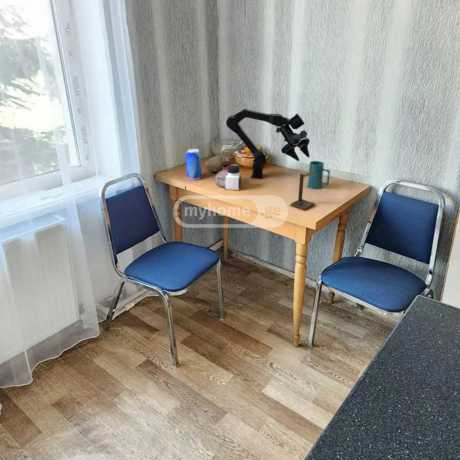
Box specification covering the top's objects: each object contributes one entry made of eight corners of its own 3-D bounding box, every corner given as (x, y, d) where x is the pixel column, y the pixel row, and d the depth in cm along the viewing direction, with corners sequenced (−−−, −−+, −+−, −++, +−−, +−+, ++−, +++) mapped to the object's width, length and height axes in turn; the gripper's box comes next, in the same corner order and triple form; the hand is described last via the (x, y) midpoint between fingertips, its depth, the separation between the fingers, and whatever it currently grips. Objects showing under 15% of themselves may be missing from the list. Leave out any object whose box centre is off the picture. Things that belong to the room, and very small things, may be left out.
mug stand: (290, 205, 187) (292, 176, 181) (309, 196, 197) (312, 168, 191) (304, 210, 182) (306, 181, 176) (323, 200, 192) (326, 172, 186)
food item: (228, 189, 206) (228, 171, 202) (214, 187, 209) (214, 169, 205) (238, 181, 217) (238, 164, 213) (225, 179, 220) (225, 162, 216)
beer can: (204, 176, 225) (203, 149, 218) (198, 181, 218) (197, 153, 211) (190, 174, 228) (189, 147, 221) (184, 179, 220) (182, 151, 214)
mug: (305, 186, 210) (307, 163, 204) (312, 183, 214) (314, 160, 209) (323, 192, 202) (326, 168, 197) (331, 188, 207) (334, 164, 201)
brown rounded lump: (215, 164, 248) (196, 166, 232) (218, 152, 246) (199, 154, 229) (232, 172, 243) (213, 174, 226) (235, 160, 240) (217, 161, 223)
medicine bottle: (238, 190, 205) (238, 168, 200) (225, 189, 206) (225, 167, 201) (241, 185, 211) (241, 164, 206) (228, 184, 212) (228, 163, 207)
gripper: (286, 128, 200) (303, 154, 197) (308, 123, 212) (323, 147, 209) (274, 141, 208) (289, 165, 206) (295, 135, 220) (310, 158, 218)
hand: (303, 158), depth 209 cm, fingers open, 9 cm apart
